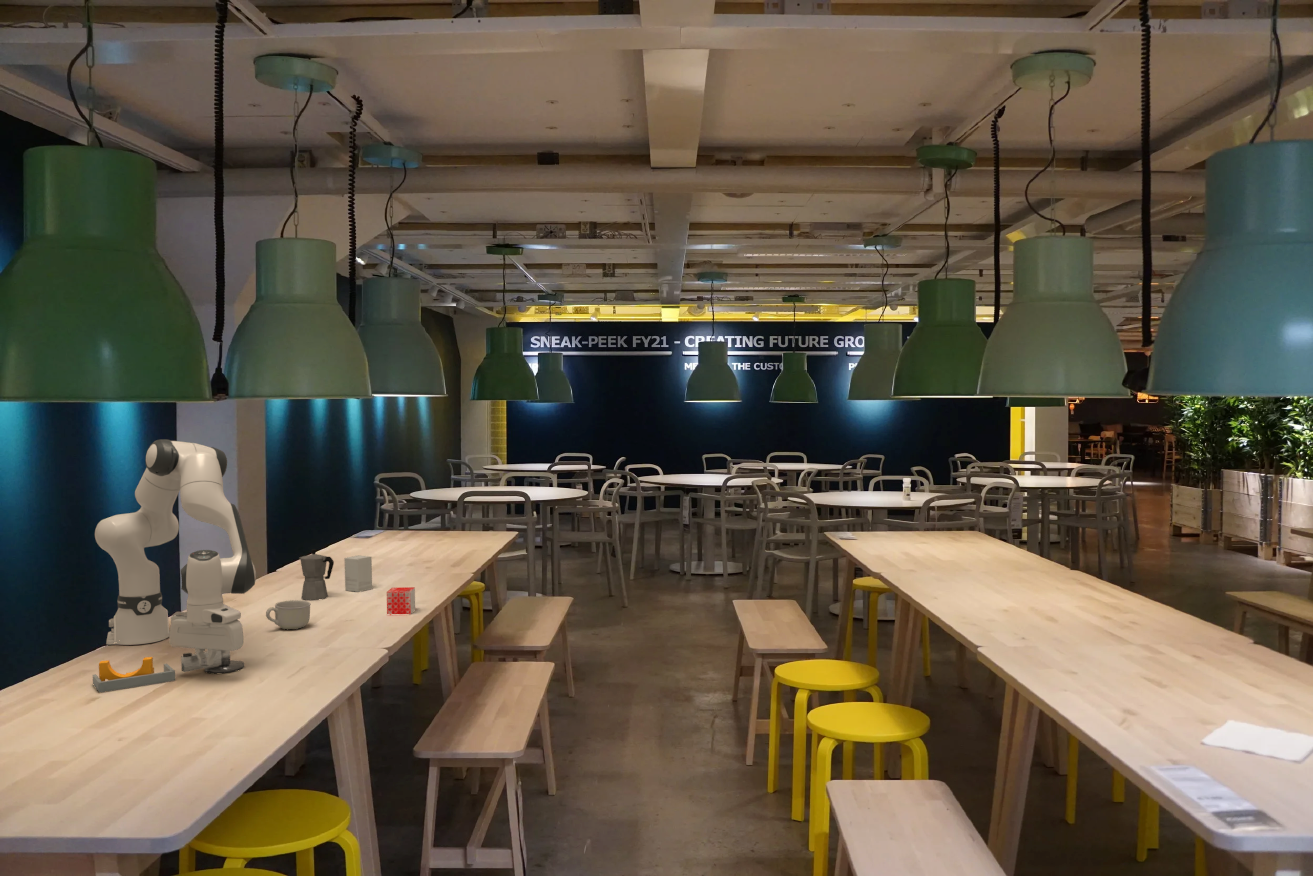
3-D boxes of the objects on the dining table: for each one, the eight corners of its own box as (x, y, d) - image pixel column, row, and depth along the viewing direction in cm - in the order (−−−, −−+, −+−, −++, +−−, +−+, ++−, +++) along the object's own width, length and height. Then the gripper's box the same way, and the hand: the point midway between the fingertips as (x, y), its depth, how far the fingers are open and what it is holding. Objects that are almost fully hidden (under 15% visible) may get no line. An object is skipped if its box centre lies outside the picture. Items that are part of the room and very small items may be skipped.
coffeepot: (291, 599, 372) (290, 550, 371) (309, 594, 381) (308, 546, 380) (325, 602, 366) (324, 552, 365) (342, 597, 375) (341, 548, 374)
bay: (92, 684, 263) (92, 674, 263) (167, 672, 273) (166, 663, 273) (99, 692, 255) (98, 683, 255) (175, 680, 266) (175, 671, 266)
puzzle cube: (392, 610, 352) (391, 587, 351) (415, 610, 352) (414, 587, 351) (387, 615, 344) (386, 592, 343) (410, 615, 344) (410, 591, 343)
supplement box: (373, 589, 390) (372, 556, 390) (357, 592, 384) (357, 559, 383) (359, 587, 394) (358, 554, 394) (344, 590, 388) (343, 557, 387)
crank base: (200, 668, 278) (200, 663, 278) (238, 662, 284) (238, 657, 284) (209, 675, 270) (209, 671, 270) (249, 669, 276) (248, 665, 276)
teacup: (305, 622, 333) (305, 598, 333) (315, 628, 324) (314, 603, 324) (261, 628, 325) (260, 603, 325) (269, 635, 316) (269, 609, 316)
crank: (227, 662, 279) (226, 642, 279) (232, 664, 277) (231, 644, 277) (180, 671, 270) (180, 651, 270) (185, 673, 268) (184, 653, 268)
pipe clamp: (154, 679, 267) (153, 655, 267) (151, 684, 263) (151, 659, 263) (103, 684, 264) (102, 659, 263) (99, 688, 260) (98, 663, 259)
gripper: (162, 613, 267) (164, 666, 268) (231, 617, 263) (232, 670, 263) (179, 608, 274) (180, 659, 274) (246, 612, 269) (247, 664, 269)
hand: (206, 665), depth 269 cm, fingers closed
